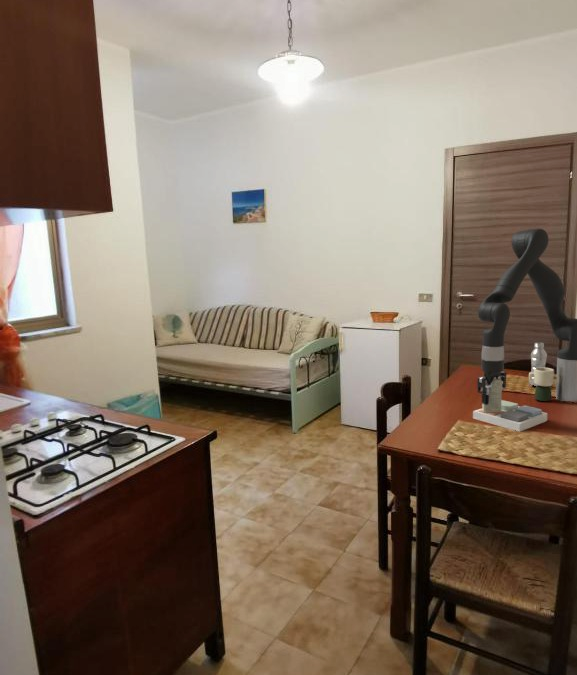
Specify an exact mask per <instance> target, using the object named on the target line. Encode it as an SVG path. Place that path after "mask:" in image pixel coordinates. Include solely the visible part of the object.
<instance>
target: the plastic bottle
mask: <svg viewBox="0 0 577 675" xmlns="http://www.w3.org/2000/svg"><path fill="white" fill-rule="evenodd" d="M533 345H534V348H533V350H532V351H531V353H530V359H531V360H530V362H531V363H530V364H531V366H530V367H531V369H530V370H531V371H530V372H532V373H534V369H535V368H539V367H545V368H546V364H547V357H548V353H547V351H546V350H545V349H544V348H545V343H544V342H541V341H539V342H534V344H533ZM531 378H534V375H532V376H531ZM528 380H529V379H528ZM530 384H531V385H534V386H538V385H536V384H535V383H534V381H533V380H529V385H530ZM531 385H530V386H531Z"/></svg>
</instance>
